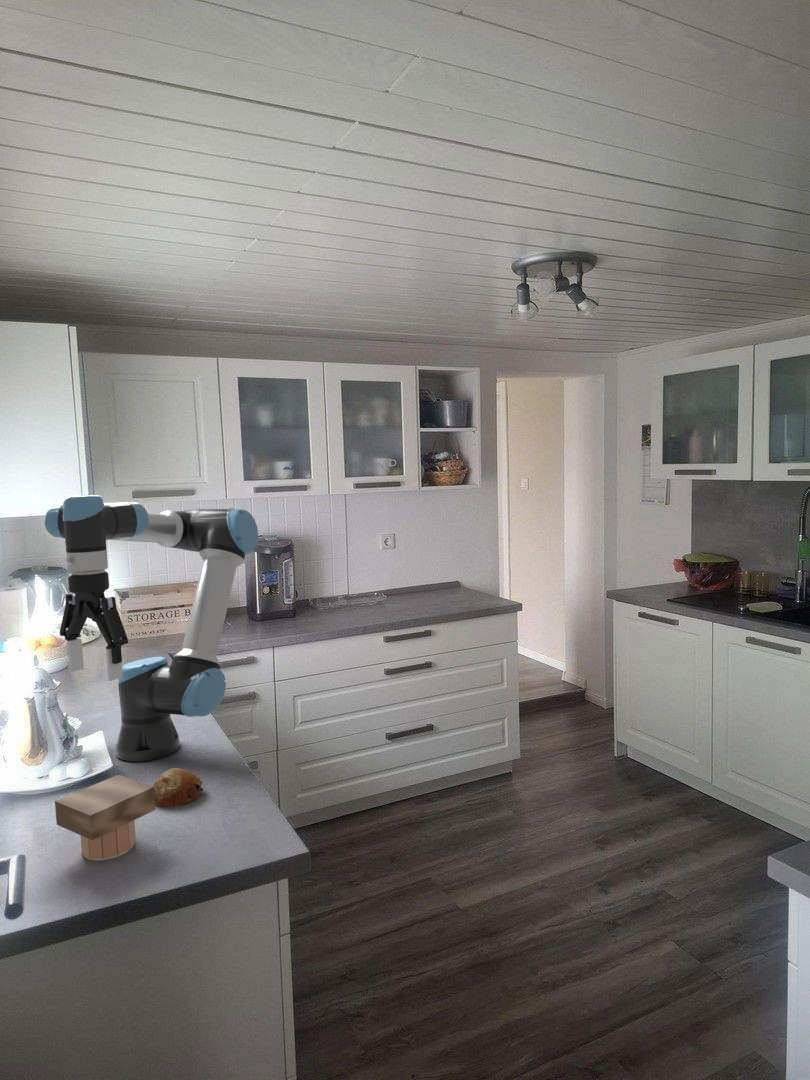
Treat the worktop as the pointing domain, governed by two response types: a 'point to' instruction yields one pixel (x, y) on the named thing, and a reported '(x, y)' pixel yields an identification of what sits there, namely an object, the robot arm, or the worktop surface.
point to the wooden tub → (110, 843)
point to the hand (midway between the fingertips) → (95, 674)
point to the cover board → (104, 806)
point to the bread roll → (176, 788)
